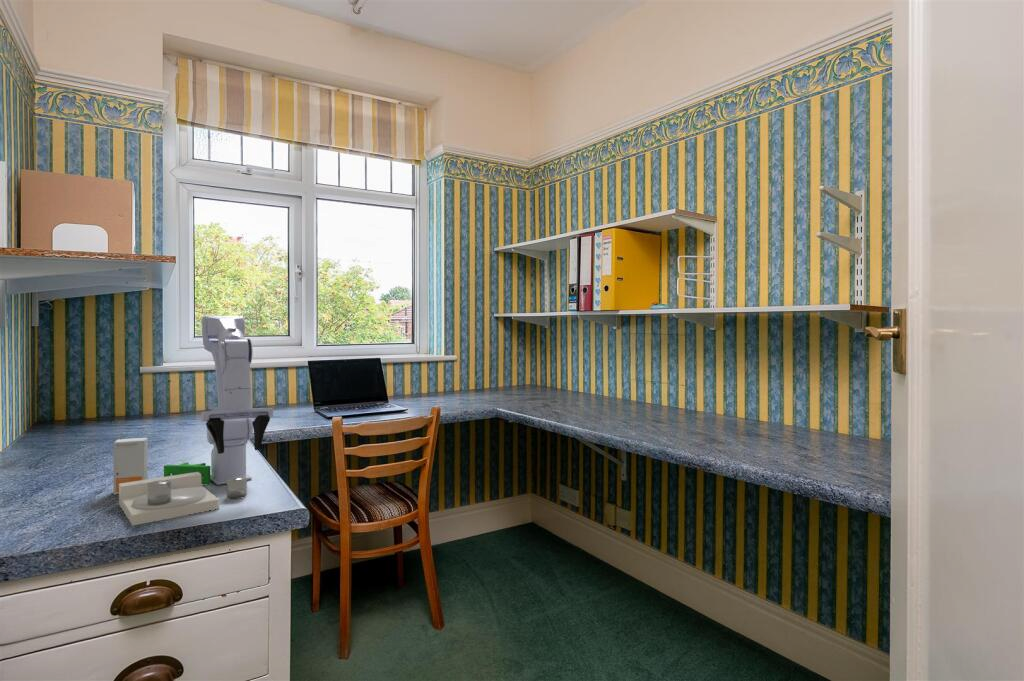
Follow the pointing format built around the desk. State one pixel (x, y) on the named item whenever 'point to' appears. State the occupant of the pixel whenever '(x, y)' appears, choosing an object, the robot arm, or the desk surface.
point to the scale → (184, 501)
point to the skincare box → (129, 461)
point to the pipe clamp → (189, 471)
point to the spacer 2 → (236, 487)
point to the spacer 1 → (159, 492)
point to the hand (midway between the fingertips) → (239, 451)
